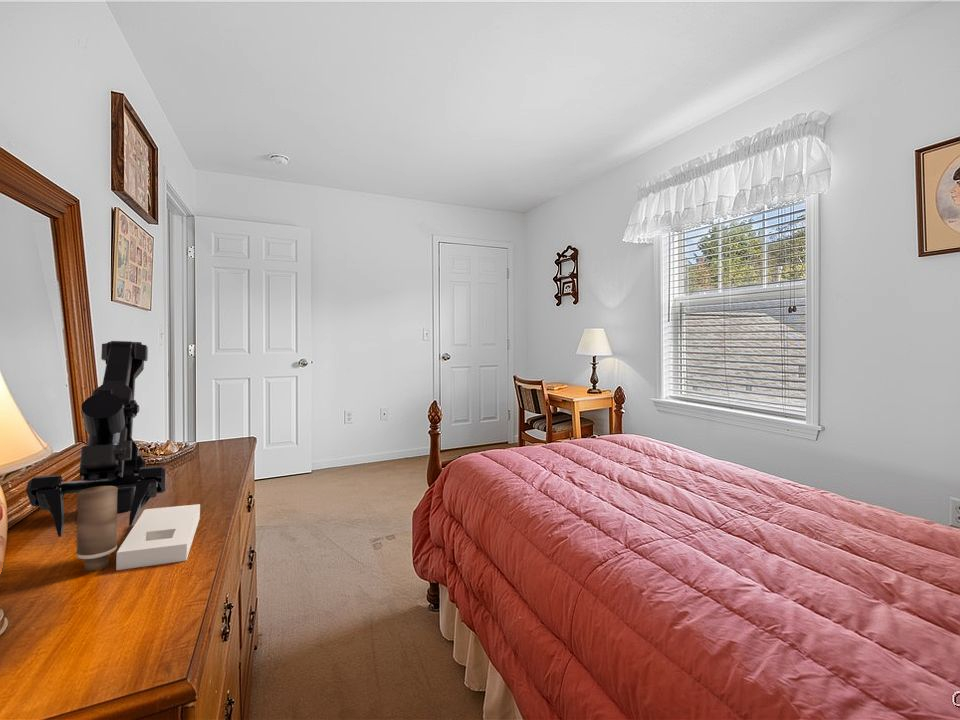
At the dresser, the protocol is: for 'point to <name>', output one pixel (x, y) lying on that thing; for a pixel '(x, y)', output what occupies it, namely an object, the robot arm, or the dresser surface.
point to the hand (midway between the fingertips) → (96, 530)
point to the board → (159, 537)
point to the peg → (96, 526)
